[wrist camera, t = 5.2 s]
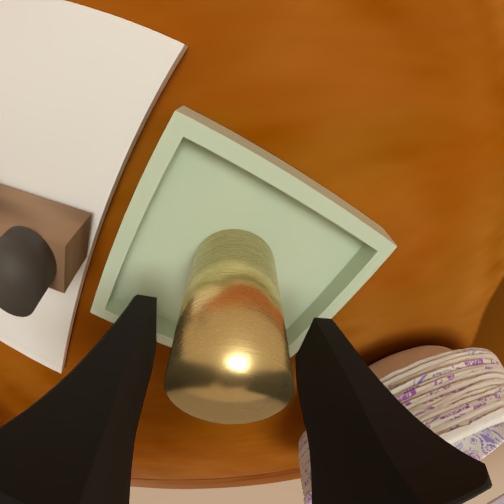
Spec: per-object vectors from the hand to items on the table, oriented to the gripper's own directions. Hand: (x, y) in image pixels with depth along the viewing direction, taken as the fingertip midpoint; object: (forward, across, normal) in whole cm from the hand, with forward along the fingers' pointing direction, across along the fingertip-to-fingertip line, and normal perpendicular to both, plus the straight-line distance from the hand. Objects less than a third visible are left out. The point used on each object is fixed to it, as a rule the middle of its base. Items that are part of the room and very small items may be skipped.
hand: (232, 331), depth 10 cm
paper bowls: (+4, -13, +9) cm, 17 cm away
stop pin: (+3, 0, 0) cm, 3 cm away
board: (+4, +16, -3) cm, 17 cm away
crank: (+3, +12, -2) cm, 13 cm away
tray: (+4, 0, 0) cm, 4 cm away
